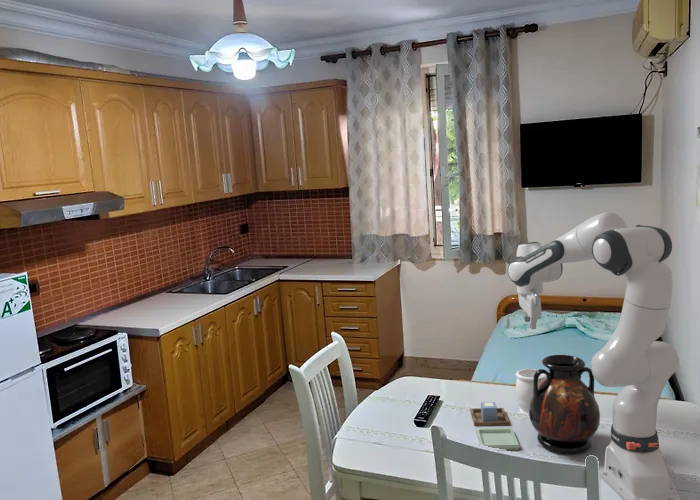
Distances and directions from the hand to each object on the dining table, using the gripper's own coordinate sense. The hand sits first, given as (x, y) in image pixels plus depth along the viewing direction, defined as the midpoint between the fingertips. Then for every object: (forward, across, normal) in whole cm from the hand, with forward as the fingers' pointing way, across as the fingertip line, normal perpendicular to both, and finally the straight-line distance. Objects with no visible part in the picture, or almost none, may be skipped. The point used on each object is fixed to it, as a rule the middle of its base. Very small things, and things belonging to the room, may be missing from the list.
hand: (530, 324), depth 208 cm
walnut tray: (+33, -5, +16) cm, 37 cm away
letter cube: (+32, -5, +16) cm, 36 cm away
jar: (+33, 0, 0) cm, 33 cm away
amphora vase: (+33, -24, -5) cm, 41 cm away
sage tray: (+33, -22, +16) cm, 43 cm away
